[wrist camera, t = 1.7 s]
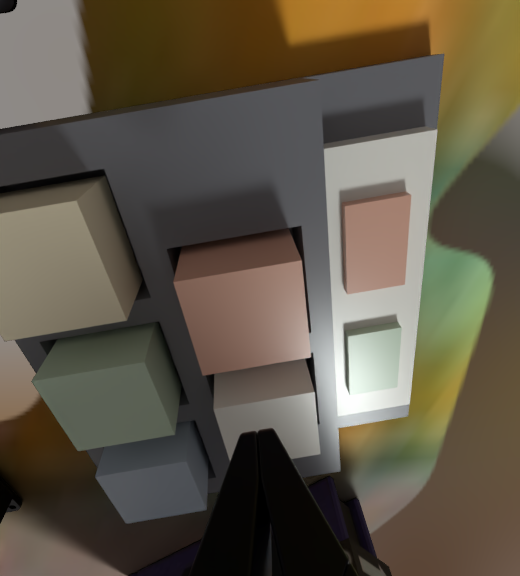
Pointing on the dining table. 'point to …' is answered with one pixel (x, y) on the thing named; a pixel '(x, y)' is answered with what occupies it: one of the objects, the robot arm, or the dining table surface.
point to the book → (340, 517)
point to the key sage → (111, 386)
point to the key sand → (63, 260)
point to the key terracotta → (244, 301)
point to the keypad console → (270, 220)
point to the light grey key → (268, 405)
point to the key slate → (156, 475)
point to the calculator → (7, 6)
